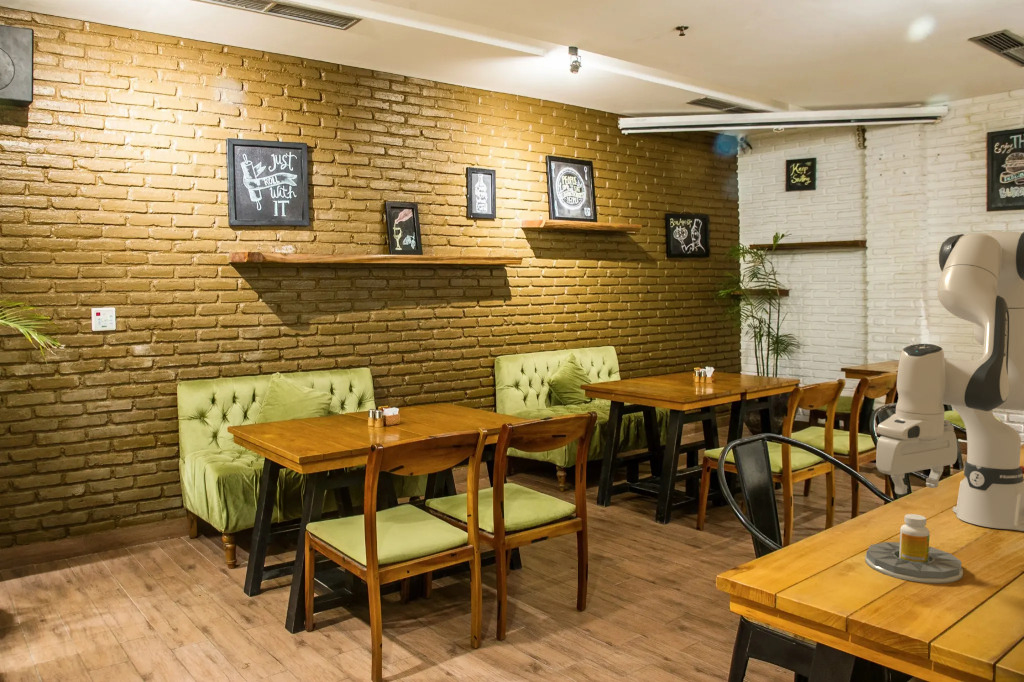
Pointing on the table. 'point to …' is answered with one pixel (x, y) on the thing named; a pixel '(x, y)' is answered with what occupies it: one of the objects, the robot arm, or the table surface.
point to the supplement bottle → (914, 539)
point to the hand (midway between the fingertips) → (916, 490)
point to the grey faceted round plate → (914, 564)
